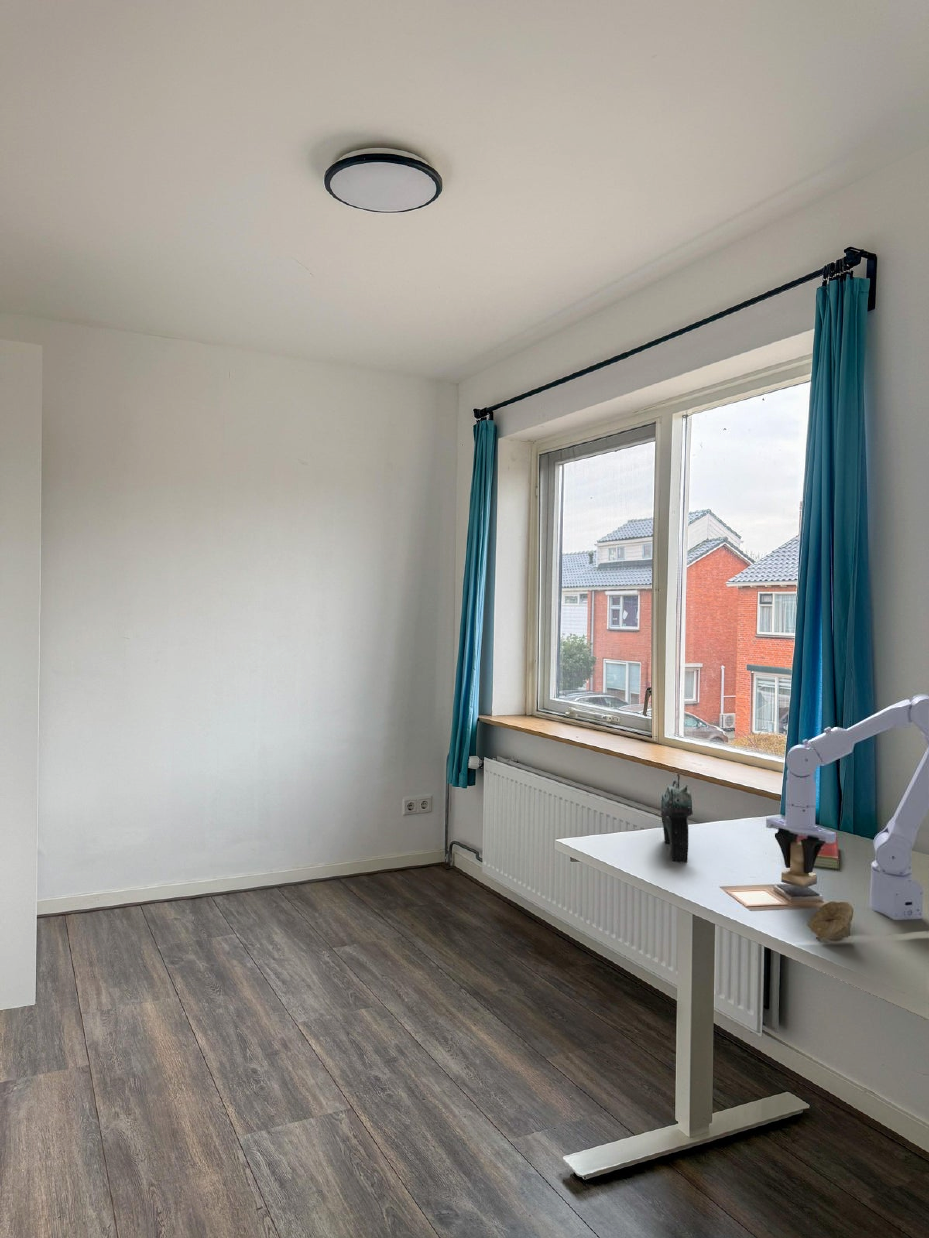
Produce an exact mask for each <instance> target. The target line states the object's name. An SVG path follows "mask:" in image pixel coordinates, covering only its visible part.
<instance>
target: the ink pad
mask: <svg viewBox="0 0 929 1238" xmlns="http://www.w3.org/2000/svg"><path fill="white" fill-rule="evenodd" d="M774 891H775V892H777V893H778V894H780V895H781V896H783V897H784V898H786V899H787V900H789V901H790V902H809V901H823V900H824V895H823V894H821V893H819V892H817V891H816V890H814V889H812V888H811V886H809V887H807V888H800V887H797V886H794V885H776V886H774Z"/></svg>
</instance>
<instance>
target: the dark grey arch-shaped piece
mask: <svg viewBox="0 0 929 1238" xmlns="http://www.w3.org/2000/svg"><path fill="white" fill-rule="evenodd" d="M676 776H677V780H674V781H673V782H672V785H671V786H670V785H669V786H667V787H666V791H665V794H662V795H661V805H660V817H661V823H662V826H663V827H662V828H663V837H664V839H663V840H664V843H665V844H666V845H670V846H669V847H670V853H669V854H670V859H671V861H672V862H675V863H688V856H689V855H688V854H689V816H692V815H694V814H693V800H692V792H691V791H690V790H691V789H690V790H689V789H688V785H685V786H683V787H680V778H681V772H680V771H678V772H677V775H676Z"/></svg>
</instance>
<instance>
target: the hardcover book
mask: <svg viewBox="0 0 929 1238" xmlns="http://www.w3.org/2000/svg"><path fill="white" fill-rule="evenodd" d="M806 838H807V837H806V836H802V835H798V837H797V841H796V842H801V840H802V839H806ZM838 845H839V842H838V836H837V835H836V842H834V843H831V844H830V843H826V841H825V844H824V845H823V846H822V848H821V850H820V852H819V853H818V856H817V858H816V861H815V864H814V866H815V867H823V868H829V869H830V868H831V869H836V870H840V859H839V857H840V856H839V846H838Z"/></svg>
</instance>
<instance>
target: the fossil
mask: <svg viewBox="0 0 929 1238" xmlns="http://www.w3.org/2000/svg"><path fill="white" fill-rule="evenodd" d="M853 916H854V908H853V906H852V905H851V903H849V902H847V901H839V902H837V901H829V902H828V903H826V904H825V905H823V906H822V907H820V908H818V910H817V911H816V913H815V914H814V915H813V916H812V917H811V918H810V919H809V920H808V921H807V924H806V927H808V929H810V931H812V932H813V933H814V934H815V935H816V937H815V939H816V940H818V941H836V942H840V941H842V940H843V939H845V938H848V937H849V936H850V935H851V931H852V930H851V929H852V921H853Z"/></svg>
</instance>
